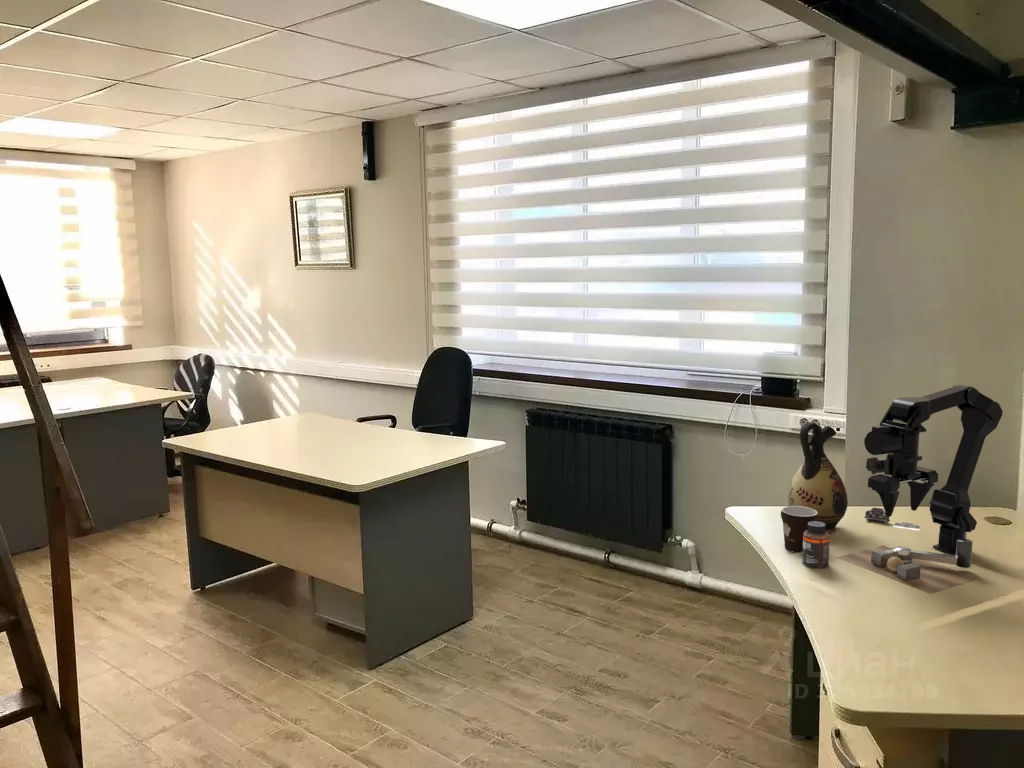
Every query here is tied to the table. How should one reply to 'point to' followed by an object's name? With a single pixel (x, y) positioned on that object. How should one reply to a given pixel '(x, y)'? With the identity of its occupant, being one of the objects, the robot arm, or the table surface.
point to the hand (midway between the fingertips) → (901, 513)
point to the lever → (927, 555)
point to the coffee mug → (796, 525)
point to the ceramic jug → (818, 479)
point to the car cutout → (886, 518)
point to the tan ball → (894, 563)
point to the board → (930, 573)
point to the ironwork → (908, 570)
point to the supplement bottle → (816, 546)
